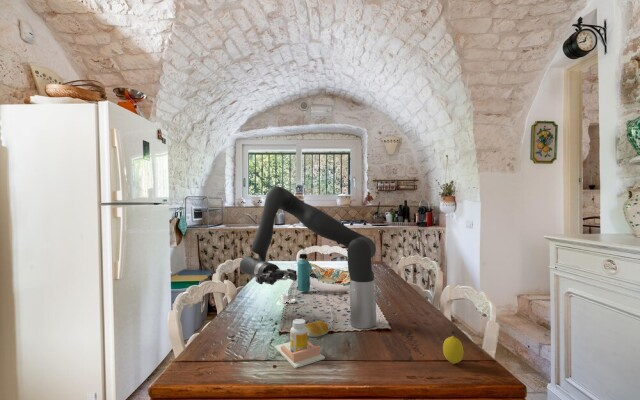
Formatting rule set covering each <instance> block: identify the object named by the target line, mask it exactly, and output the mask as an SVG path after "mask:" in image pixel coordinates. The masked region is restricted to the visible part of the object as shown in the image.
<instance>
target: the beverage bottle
mask: <svg viewBox="0 0 640 400" xmlns="http://www.w3.org/2000/svg"><path fill="white" fill-rule="evenodd" d="M299 259H301V260H299V261H297V262H296V263H297V290H298V291H299V292H309V291H310V290H311V281H310V280H311V276H310V274H311V272H310V261H309V260H308V254H307V253H300V254H299ZM306 259H307V260H306Z"/></svg>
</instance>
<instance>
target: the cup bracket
mask: <svg viewBox="0 0 640 400" xmlns="http://www.w3.org/2000/svg"><path fill="white" fill-rule="evenodd" d="M274 349H276V350H277V352H278V353H280V354H281V356H282V357H283V358H284V359H286V360H287V362H289V364H291V366H292V367H293V368H294V369H296V368H300V367H304V366H306V365H309V364H312V363H316V362H318V361H323V360H325V359H326V357H325V356H324V354H321V346H320V345H313V344H312V343H311V342H310V341H309V340H307V349H304V350H300V351H297V352H293V353H291V351H290V341H289V342H283V343H281V344H277V345H274Z"/></svg>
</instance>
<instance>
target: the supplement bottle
mask: <svg viewBox="0 0 640 400" xmlns="http://www.w3.org/2000/svg"><path fill="white" fill-rule="evenodd" d="M306 324H307V323H306V320H305V319H303V318H295V319H293V320H292V327H291V328H290V331H289V334H290V337H289V339H290V341H289V342H290V351H291V353H293V352H297V351H300V350H304V349H307V341H308V336H307V332H308V331H307V328H306V327H305V325H306Z"/></svg>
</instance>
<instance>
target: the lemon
mask: <svg viewBox="0 0 640 400" xmlns="http://www.w3.org/2000/svg"><path fill="white" fill-rule="evenodd" d="M442 353H443V356H444V357H445V359H446V360H447V361H448V362H450V363H451V364H452V365H455V364H457V363H460V362H461V361H462V360H463V358H464V354H465V353H464V346H463V344H462V342H461V340H460V339H458V338H457V337H455V336H454V335H452V336H449V337H447V338H446V339H444V341H443V344H442Z"/></svg>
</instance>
